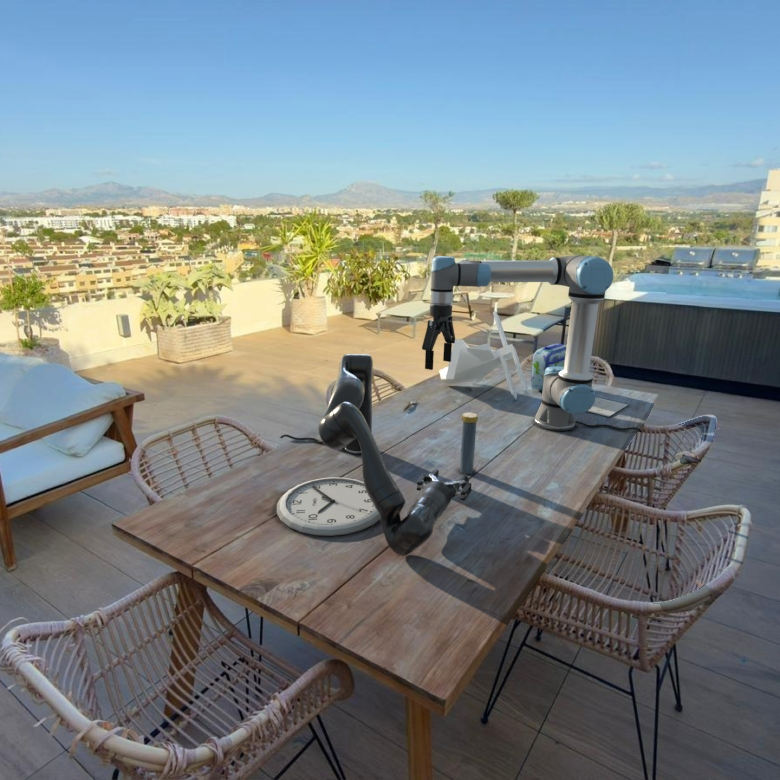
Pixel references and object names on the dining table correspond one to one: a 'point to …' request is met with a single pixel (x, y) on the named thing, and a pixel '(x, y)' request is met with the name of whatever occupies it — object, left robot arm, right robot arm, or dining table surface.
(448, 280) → the right robot arm
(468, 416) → the lid
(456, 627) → the dining table surface
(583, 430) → the dining table surface
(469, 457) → the gray cylinder
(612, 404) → the invitation card
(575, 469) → the dining table surface
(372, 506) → the wall clock
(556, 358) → the lunch box
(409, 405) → the fork
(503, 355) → the white plastic object
